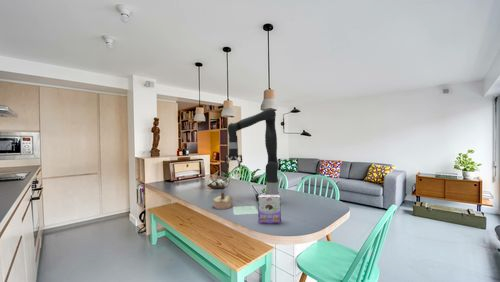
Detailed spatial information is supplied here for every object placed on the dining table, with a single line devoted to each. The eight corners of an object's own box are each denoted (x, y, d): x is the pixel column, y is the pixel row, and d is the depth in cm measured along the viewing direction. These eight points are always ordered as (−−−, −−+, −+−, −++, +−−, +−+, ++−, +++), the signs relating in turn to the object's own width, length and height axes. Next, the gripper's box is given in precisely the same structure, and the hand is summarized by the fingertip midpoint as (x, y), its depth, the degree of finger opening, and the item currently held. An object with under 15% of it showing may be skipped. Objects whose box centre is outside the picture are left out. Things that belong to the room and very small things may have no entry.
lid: (232, 196, 172) (232, 189, 172) (233, 202, 157) (233, 194, 157) (213, 197, 170) (213, 190, 170) (212, 203, 155) (212, 195, 155)
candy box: (280, 220, 135) (280, 194, 135) (281, 224, 130) (280, 196, 129) (258, 219, 137) (258, 194, 137) (258, 223, 131) (257, 196, 131)
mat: (255, 206, 164) (255, 205, 164) (258, 214, 147) (258, 213, 147) (232, 207, 162) (232, 206, 162) (233, 215, 145) (233, 214, 145)
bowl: (230, 203, 170) (230, 197, 170) (231, 209, 158) (231, 201, 158) (214, 204, 169) (214, 197, 169) (214, 210, 156) (213, 202, 156)
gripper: (241, 147, 178) (241, 167, 179) (224, 147, 177) (224, 167, 177) (242, 147, 171) (242, 168, 171) (224, 148, 169) (224, 168, 169)
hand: (233, 167), depth 174 cm, fingers open, 8 cm apart
